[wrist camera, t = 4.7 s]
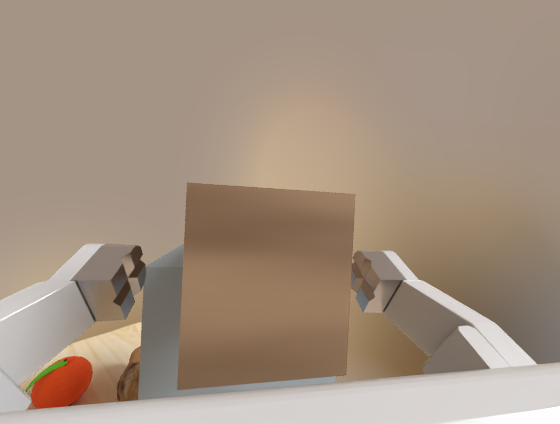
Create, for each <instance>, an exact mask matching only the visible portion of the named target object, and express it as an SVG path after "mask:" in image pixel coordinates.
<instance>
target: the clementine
mask: <svg viewBox="0 0 560 424" xmlns="http://www.w3.org/2000/svg"><path fill="white" fill-rule="evenodd" d="M92 374H93V372H92V366H91V364H90V362H89V361H88V360H87V359H85V358H83V357H77V356H71V357H66V358H63V359H61V360H59V361H57V362H55V363H53V364H52V365H51V366H49V367H48V368H47V369H45V370H44V371H43V372H41V373H40V374H39V375H38V376H37V377H36V378H35V379H34V380H33V381H32V382H31V383H30V385H29V386H28V388H27V389H26V391H25V392H27V390H28V389H29V388H30V387H31V386H32V385H33V384H34V383H35V384H34V386H33V389H32V394H31V399H32V403H33V404H34V406H35V407H36V408H37V409H43V408H54V407H66V406H68V405H70V404H72V403H73V402H74V401H76V400H77V399H78V398H79V397H80V396H81V395H82V394H83V393H84V392H85V390H86V389H87V387H88V385H89V383H90V381H91V378H92Z"/></svg>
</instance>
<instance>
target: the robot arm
mask: <svg viewBox="0 0 560 424" xmlns="http://www.w3.org/2000/svg"><path fill="white" fill-rule="evenodd" d="M142 255H143V254H142V250H141V247H140V246H137V245H117V244H86V245H84V246H83V247H82V248H81V249H80V250H79V251H78V252H76V254H75V255H73V256H72V257H71V258H70V259H69V260H68V261H67V262H66V263H65V264H64V265H63V266H62V267H61V268H60V269H59V270H58V271H57V272H56V273H55V274H54V275H53V276H52V277H51V278H50V279H49V280H48V281H41V282H38V283H36V284H34V285H32V286H30V287H28V288H26V289H23V290H21V291H19V292H17V293H15V294H13V295H11V296H9V297H6V298H4V299H2V300H0V424H560V363H550V364H539V365H537V364H536V363H535V362H534V361H533V360H532V359H531V358H530V357H529V356H528V355H527V354H526V353H525V352H524V351H523V350H522V349H521V348H520V347H519V346H518V345H517V344H516V343H515V342H514V341H513V340H512V339H511V338H510V337H509V336H508V335H507V334H506V333H505V332H504V331H503V330H502V329H501V328H500V327H499V326H497V324H496V323H494V322H492V321H490V320H489V319H487V318H485V317H484V316H482V315H480V314H478V313H477V312H475V311H473V310H472V309H470V308H468V307H467V306H465V305H463V304H462V303H460V302H458V301H456V300H455V299H453V298H451V297H450V296H448V295H446V294H445V293H443V292H441V291H439V290H438V289H436V288H434V287H433V286H431V285H429V284H428V283H426V282H424V281H422V280H421V281H420V280H418V279H417V278H416V276H415V275H414V274H413V273H412V272H411V271H410V269H409V268H408V267H407V266H406V265H405V264H404V263H403V261H402V260H401V259H400V258H399V257H398V256H397V254H396V253H394V252H393V251H357V252H356V253H355V254H354V256H353V259H354V263H353V264H352V271H351V289H352V290H354V291H355V292H356V293H357V295H356V299H357V301H358V303H359V305H360V307H361V309H362V311H363V313H383V314H384V315H385V316H386V317H387V318H388V319H389V320H390V321H391V322H392V323H394V324H395V325H396V326H397V327H398V328H399V329H400V330H401V331H402V332H403V333H404V334H405V335H406V336H407V337H409V338H410V339H411V340H412V341H413V342H414V343H415V344H416V345H417V346H418V347H419V348H420V349H422V350H423V351H424V352H425V353H426V354H427V355H428V356H429V357H430V358H429V359H428V360H427V361H426V362H425V363H424V364H423V367H422V369H423V371H424V373H425V375H415V376H403V377H392V378H381V379H370V380H358V381H347V382H337V383H324V384H313V385H302V386H291V387H279V388H268V389H257V390H245V391H234V392H223V393H211V394H200V395H189V396H178V397H167V398H155V399H144V400H133V401H122V402H110V403H99V404H88V405H77V406H66V407H54V408H43V409H32V410H26V409H27V408H28V406H29V405H30V403H31V397H30V395H29V394H27V393H26V392H25V391H24V390H23V389H22V388H21V387H20V386H19V385H21V384H22V383H23V382H24V381H25V380H27V379H28V378H29V377H30V376H32V375H33V374H34V373H35V372H36V371H38V370H39V369H40V368H41V367H43V366H44V365H45V364H46V363H47V362H49V361H50V360H51V359H52V358H53V357H55V356H56V355H57V354H58V353H60V352H61V351H62V350H63V349H64V348H66V347H67V346H68V345H69V344H70V343H72V342H73V341H74V340H75V339H77V338H78V337H79V336H80V335H81V334H83V333H84V332H85V331H86V330H87V329H89V328H90V327H91V326H92V325H93V324H94V323H95V322H98V321H114V320H115V321H116V320H125V319H126V318H127V316H128V314H129V312H130V310H131V308H132V306H133V305H134V303H135V300H134V297H133V296H134V295H135V294H137V293H138V292H139V291H141V289H142V287H143V285H144V283H145V278H146V266H145V264H144V263H143V262H142V261H141V260H140V258H141V256H142Z"/></svg>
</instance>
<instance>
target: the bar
mask: <svg viewBox="0 0 560 424" xmlns="http://www.w3.org/2000/svg"><path fill="white" fill-rule="evenodd" d="M354 212H355V194H345V193H329V192H316V191H315V192H314V191H301V190H286V189H272V188H257V187H242V186H226V185H213V184H198V183H187V196H186V218H185V237H184V257H183V277H182V298H181V318H180V339H179V359H178V380H177V390H186V389H197V388H208V387H220V386H231V385H242V384H254V383H265V382H276V381H288V380H299V379H310V378H322V377H333V376H344V375H346V369H347V367H346V366H347V349H348V330H349V310H350V290H351V271H352V251H353V231H354Z"/></svg>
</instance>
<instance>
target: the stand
mask: <svg viewBox="0 0 560 424" xmlns="http://www.w3.org/2000/svg"><path fill="white" fill-rule="evenodd" d="M183 257H184V244H183V245H181V246H179V247H178V248H176V249H174V250H172V251H171V252H169V253H168V254H166V255H164V256H162V257H161V258H159V259H157V260H155V261H154V262H152V263H150V264H149V265H147V266H146V278H145V283H144V289H143V290H144V291H143V310H142V331H141V351H140V372H139V393H138V400H144V399H155V398H167V397H178V396H189V395H200V394H211V393H223V392H234V391H245V390H257V389H268V388H279V387H291V386H302V385H313V384H324V383H336V376H333V377H322V378H310V379H299V380H288V381H276V382H265V383H254V384H242V385H231V386H220V387H208V388H197V389H186V390H177V380H178V359H179V339H180V318H181V298H182V277H183Z"/></svg>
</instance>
